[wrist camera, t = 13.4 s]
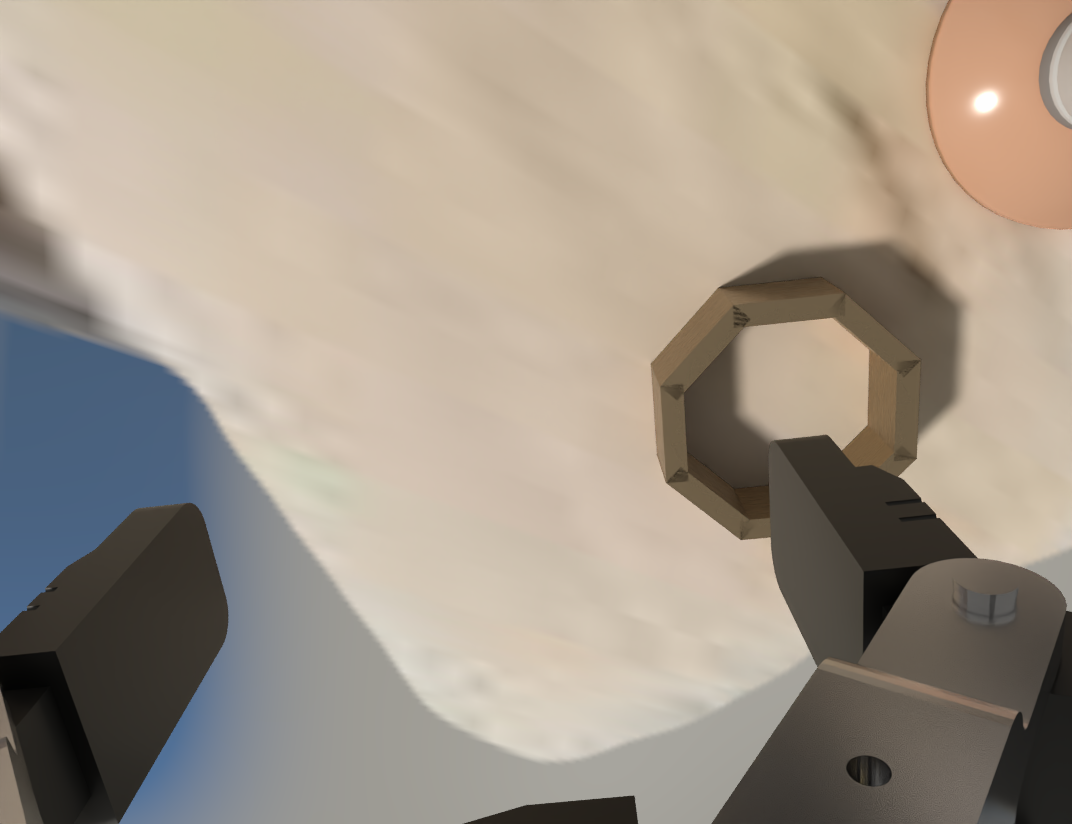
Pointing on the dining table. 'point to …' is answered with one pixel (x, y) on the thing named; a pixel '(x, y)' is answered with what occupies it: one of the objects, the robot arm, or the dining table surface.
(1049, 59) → the travel mug
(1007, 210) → the coaster
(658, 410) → the collar ring
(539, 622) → the dining table surface
